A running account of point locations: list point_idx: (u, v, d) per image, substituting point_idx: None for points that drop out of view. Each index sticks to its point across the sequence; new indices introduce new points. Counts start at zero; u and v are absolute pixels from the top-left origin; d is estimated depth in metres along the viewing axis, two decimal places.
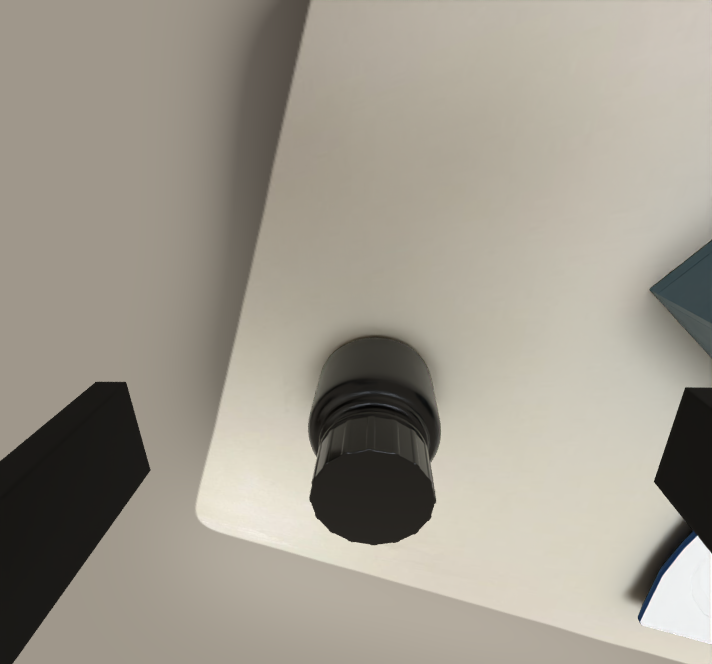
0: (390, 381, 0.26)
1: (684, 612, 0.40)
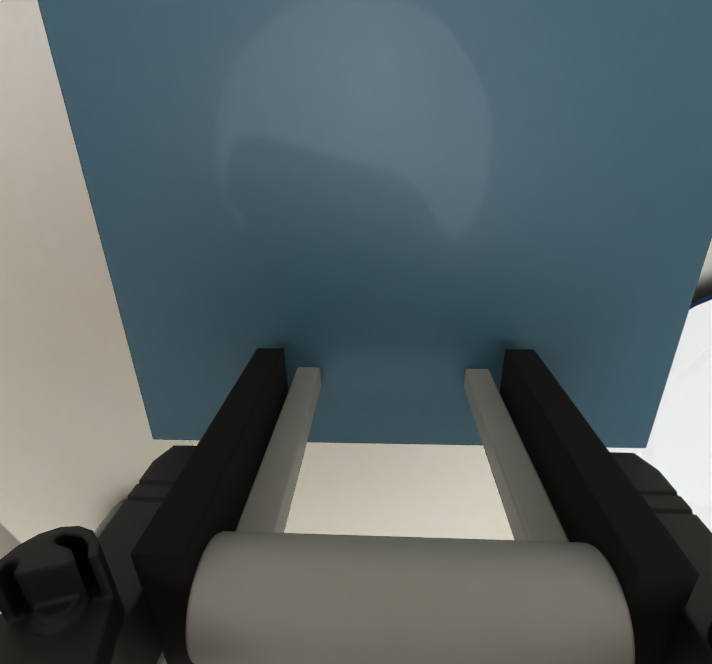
0: None
1: None
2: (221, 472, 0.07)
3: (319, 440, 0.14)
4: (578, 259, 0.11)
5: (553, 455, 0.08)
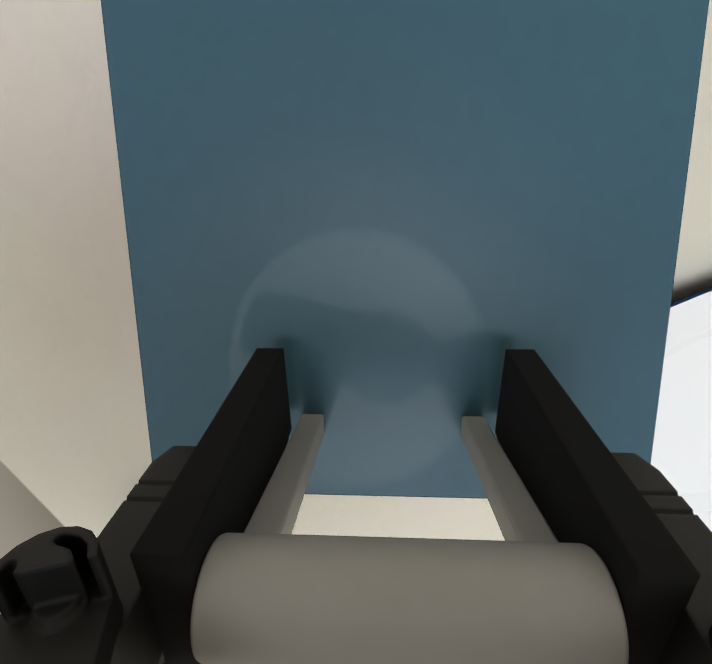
0: None
1: None
2: (220, 472, 0.07)
3: (320, 492, 0.14)
4: (557, 312, 0.12)
5: (554, 455, 0.08)
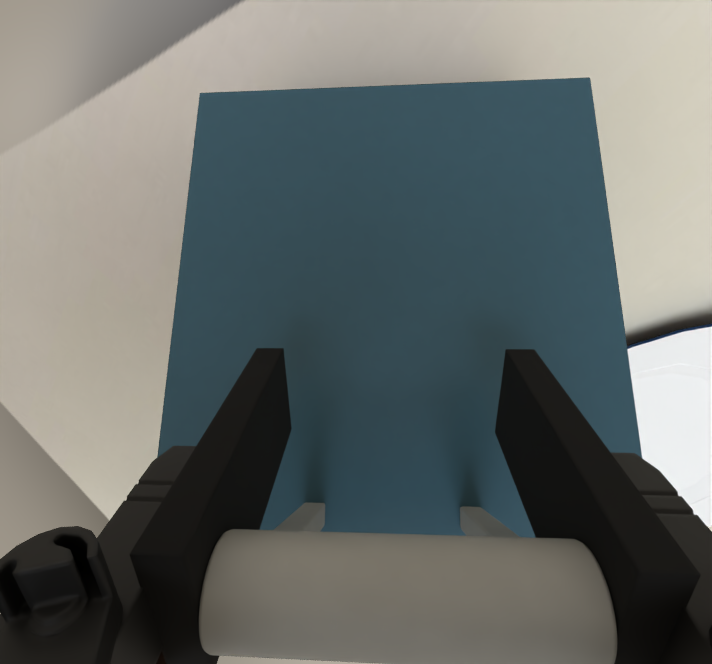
0: None
1: None
2: (220, 472, 0.07)
3: None
4: None
5: (553, 455, 0.08)
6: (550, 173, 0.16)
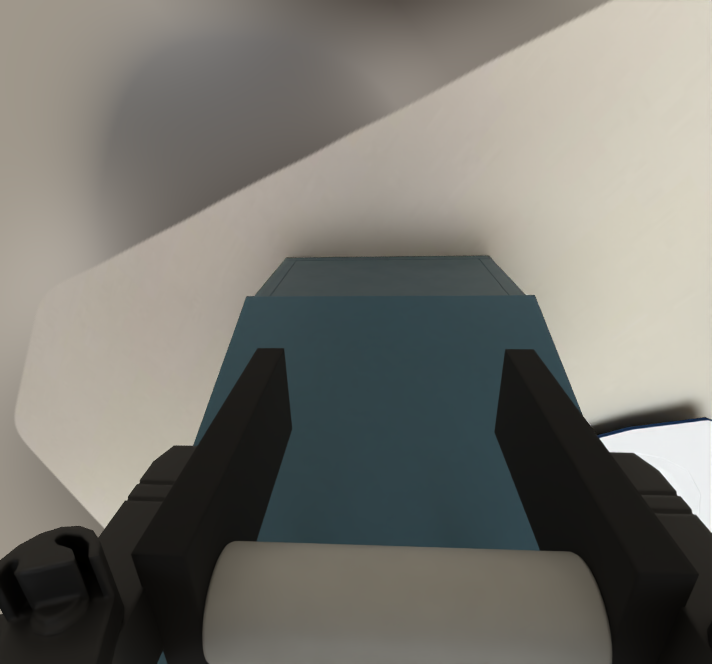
0: None
1: None
2: (221, 472, 0.07)
3: None
4: (536, 543, 0.14)
5: (553, 455, 0.08)
6: None
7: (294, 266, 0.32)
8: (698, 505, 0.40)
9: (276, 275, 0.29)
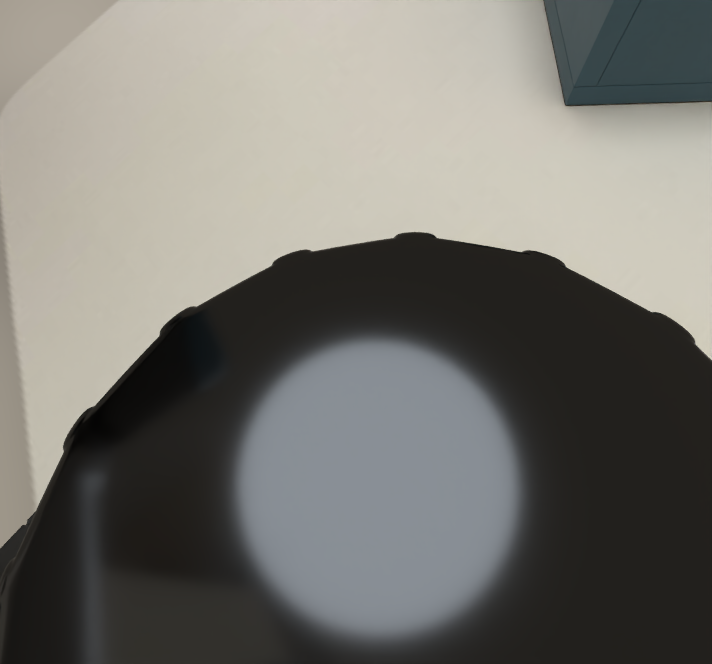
0: None
1: None
2: None
3: None
4: None
5: None
6: None
7: None
8: None
9: None
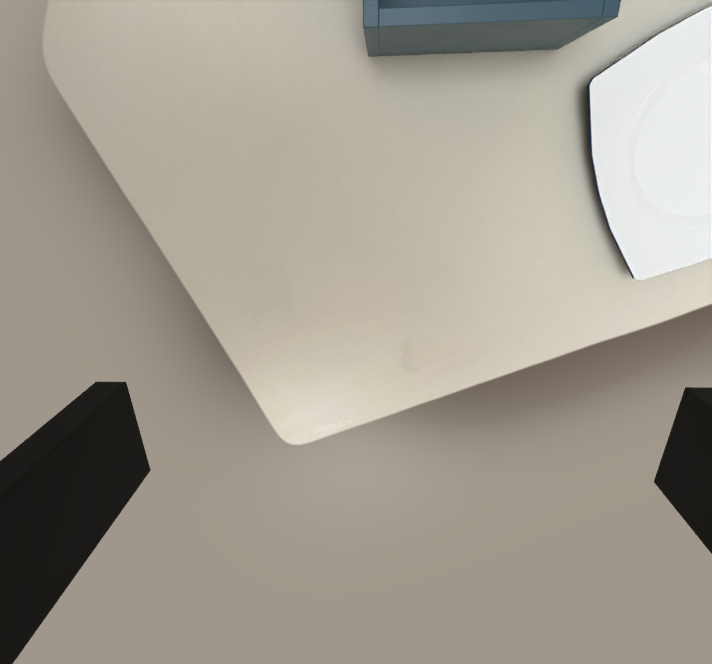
0: None
1: (672, 243, 0.40)
2: None
3: None
4: None
5: None
6: None
7: None
8: None
9: None
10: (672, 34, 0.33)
